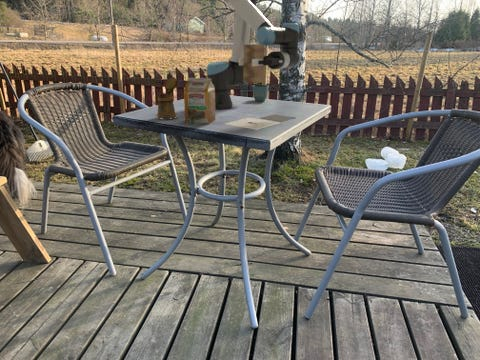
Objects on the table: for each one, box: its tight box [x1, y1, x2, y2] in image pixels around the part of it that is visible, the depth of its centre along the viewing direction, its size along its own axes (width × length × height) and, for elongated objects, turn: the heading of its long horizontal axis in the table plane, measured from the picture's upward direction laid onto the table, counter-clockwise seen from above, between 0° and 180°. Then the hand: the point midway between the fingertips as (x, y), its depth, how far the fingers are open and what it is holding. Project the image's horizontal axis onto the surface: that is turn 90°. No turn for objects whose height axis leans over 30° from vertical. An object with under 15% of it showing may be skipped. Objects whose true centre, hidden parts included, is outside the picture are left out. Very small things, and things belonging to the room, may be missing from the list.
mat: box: [260, 114, 297, 123], centre depth 175 cm, size 12×12×1 cm
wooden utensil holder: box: [156, 76, 178, 119], centre depth 173 cm, size 9×14×18 cm, turn 162°
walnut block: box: [243, 43, 265, 84], centre depth 155 cm, size 6×6×15 cm
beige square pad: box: [224, 117, 281, 131], centre depth 164 cm, size 18×18×1 cm
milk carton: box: [183, 77, 216, 125], centre depth 163 cm, size 10×10×19 cm
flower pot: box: [252, 84, 270, 102], centre depth 222 cm, size 9×9×9 cm
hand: (246, 62), depth 151 cm, fingers closed on walnut block, 6 cm apart
